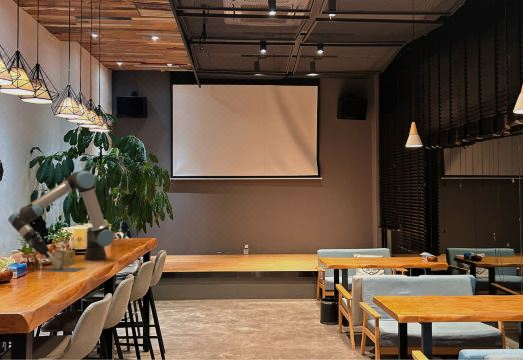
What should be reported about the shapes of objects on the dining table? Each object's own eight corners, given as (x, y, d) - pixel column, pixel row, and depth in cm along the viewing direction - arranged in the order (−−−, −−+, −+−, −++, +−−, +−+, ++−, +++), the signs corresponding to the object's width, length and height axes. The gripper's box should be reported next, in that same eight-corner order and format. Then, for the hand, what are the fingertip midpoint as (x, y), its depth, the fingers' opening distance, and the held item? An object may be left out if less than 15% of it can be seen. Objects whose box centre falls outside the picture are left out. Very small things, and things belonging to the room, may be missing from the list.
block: (55, 267, 311) (59, 248, 311) (62, 268, 311) (66, 250, 311) (51, 268, 306) (54, 249, 306) (58, 270, 306) (62, 251, 306)
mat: (55, 268, 317) (55, 267, 317) (87, 268, 314) (87, 267, 314) (40, 272, 302) (40, 271, 302) (74, 273, 299) (74, 272, 299)
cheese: (66, 267, 320) (66, 252, 320) (51, 267, 322) (51, 251, 322) (75, 265, 330) (75, 250, 330) (60, 264, 332) (60, 249, 332)
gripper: (30, 236, 318) (54, 263, 316) (17, 238, 305) (42, 266, 303) (38, 228, 317) (62, 255, 315) (25, 230, 305) (51, 258, 302)
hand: (52, 260), depth 309 cm, fingers closed
